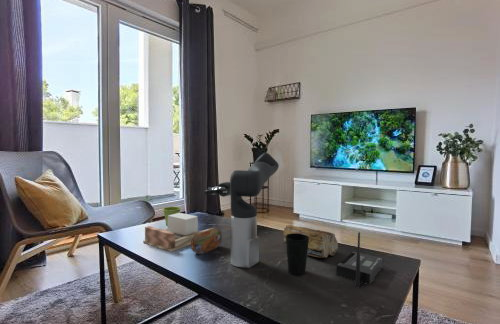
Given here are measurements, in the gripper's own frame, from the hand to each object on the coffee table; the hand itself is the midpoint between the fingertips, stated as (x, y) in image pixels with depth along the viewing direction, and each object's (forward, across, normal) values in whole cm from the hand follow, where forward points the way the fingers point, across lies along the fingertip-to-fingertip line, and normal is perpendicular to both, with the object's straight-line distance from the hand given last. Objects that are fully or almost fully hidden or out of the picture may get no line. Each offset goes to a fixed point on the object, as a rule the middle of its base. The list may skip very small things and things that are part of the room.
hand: (205, 192), depth 138 cm
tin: (+20, +19, +19) cm, 33 cm away
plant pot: (+3, -22, +19) cm, 29 cm away
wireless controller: (+6, +74, +19) cm, 77 cm away
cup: (+17, +57, +19) cm, 62 cm away
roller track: (+19, 0, +19) cm, 27 cm away
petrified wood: (-4, +53, +19) cm, 56 cm away
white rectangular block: (+15, 0, +16) cm, 22 cm away
